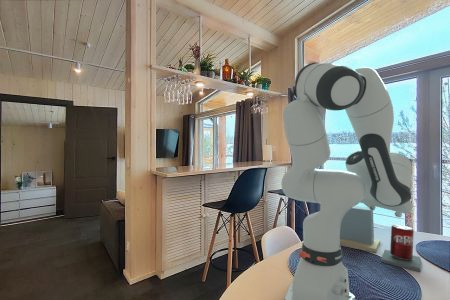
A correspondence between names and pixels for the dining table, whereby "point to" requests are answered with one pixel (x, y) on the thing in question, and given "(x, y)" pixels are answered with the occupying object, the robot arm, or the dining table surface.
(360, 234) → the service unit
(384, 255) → the pad
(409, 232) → the soda can
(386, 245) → the dining table surface
